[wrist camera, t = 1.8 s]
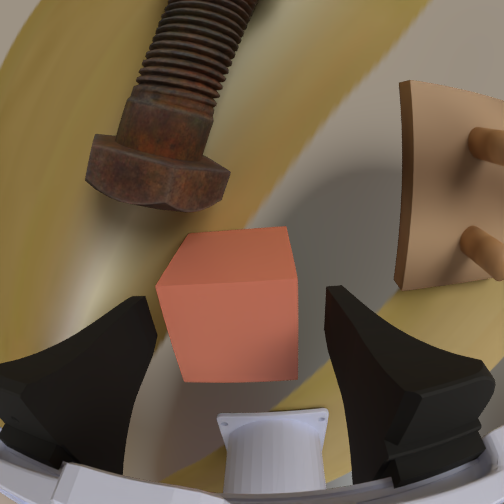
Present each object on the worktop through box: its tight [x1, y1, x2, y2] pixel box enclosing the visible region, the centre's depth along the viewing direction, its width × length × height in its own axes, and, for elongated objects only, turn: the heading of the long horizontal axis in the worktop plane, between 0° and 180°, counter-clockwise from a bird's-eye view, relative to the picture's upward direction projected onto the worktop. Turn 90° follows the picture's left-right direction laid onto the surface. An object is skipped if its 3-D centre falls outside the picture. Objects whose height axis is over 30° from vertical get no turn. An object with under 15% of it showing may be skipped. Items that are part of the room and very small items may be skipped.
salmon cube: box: [155, 226, 298, 383], centre depth 13 cm, size 5×5×5 cm
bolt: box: [85, 0, 258, 212], centre depth 8 cm, size 6×5×15 cm
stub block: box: [394, 80, 504, 291], centre depth 11 cm, size 10×8×4 cm
